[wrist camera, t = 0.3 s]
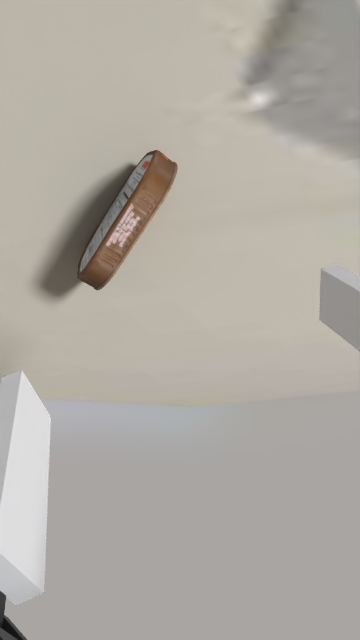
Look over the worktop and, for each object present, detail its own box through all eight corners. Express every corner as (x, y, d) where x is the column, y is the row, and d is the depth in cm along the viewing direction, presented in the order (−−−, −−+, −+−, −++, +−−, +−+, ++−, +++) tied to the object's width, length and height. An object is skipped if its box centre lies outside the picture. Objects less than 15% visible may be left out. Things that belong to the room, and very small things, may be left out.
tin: (94, 273, 41) (101, 305, 34) (70, 260, 39) (71, 291, 32) (167, 161, 37) (192, 170, 30) (143, 141, 35) (163, 146, 28)
